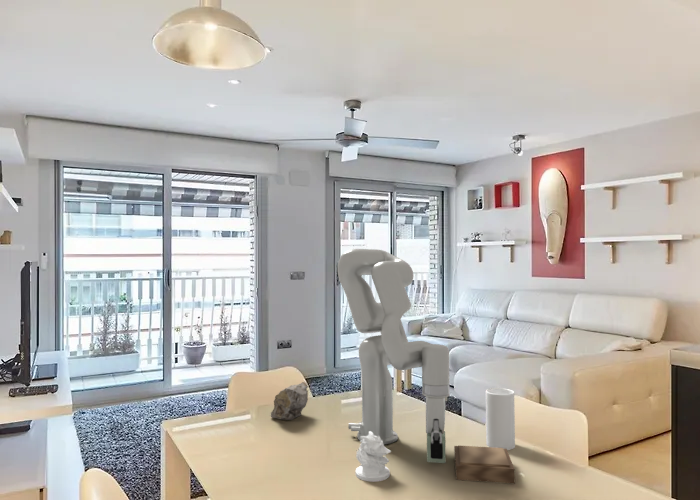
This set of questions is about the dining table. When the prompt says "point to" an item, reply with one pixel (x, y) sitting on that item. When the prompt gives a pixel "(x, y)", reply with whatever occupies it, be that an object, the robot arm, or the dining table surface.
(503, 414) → the cup
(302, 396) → the rock
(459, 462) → the plinth
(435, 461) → the block
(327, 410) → the dining table surface
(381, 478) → the figurine
